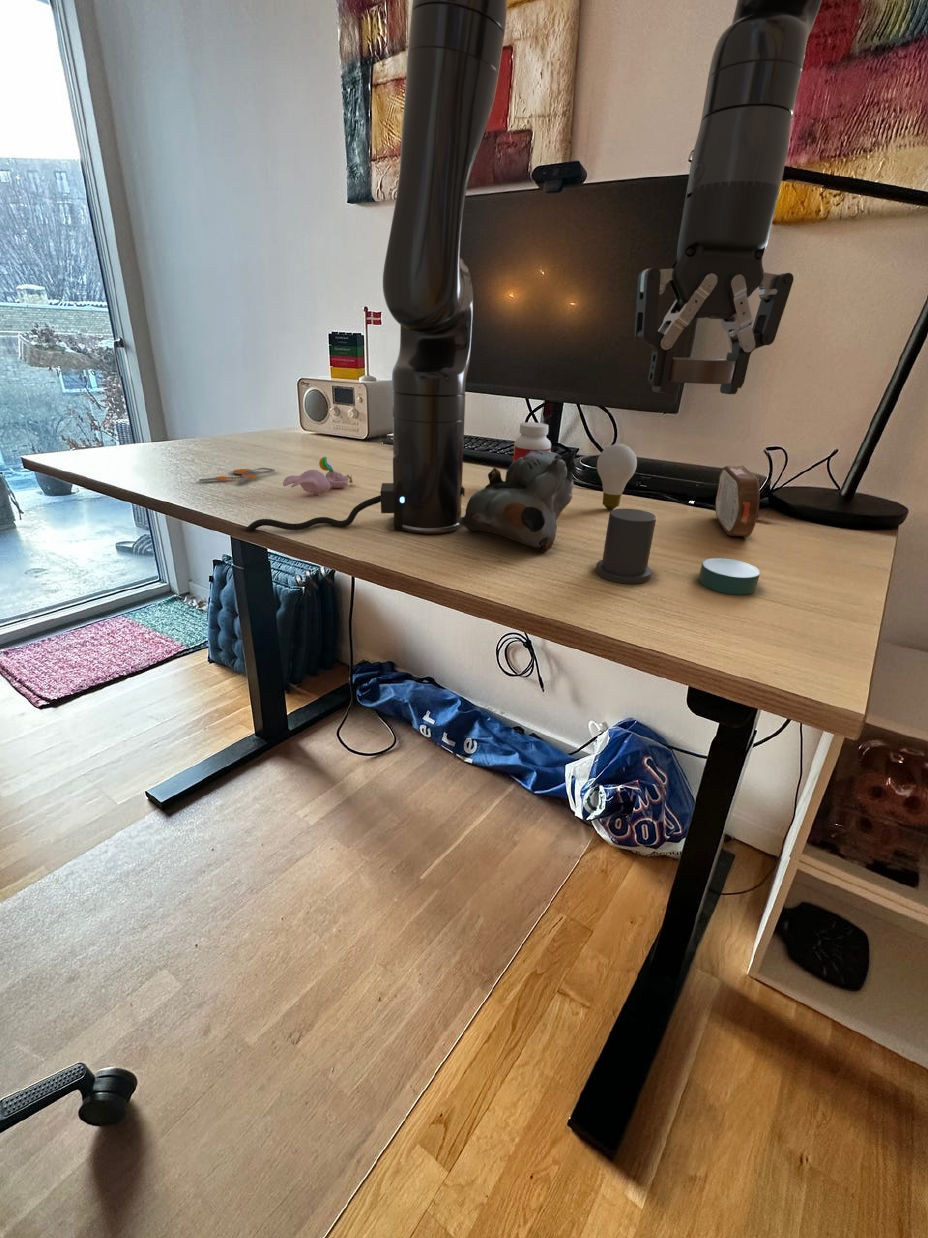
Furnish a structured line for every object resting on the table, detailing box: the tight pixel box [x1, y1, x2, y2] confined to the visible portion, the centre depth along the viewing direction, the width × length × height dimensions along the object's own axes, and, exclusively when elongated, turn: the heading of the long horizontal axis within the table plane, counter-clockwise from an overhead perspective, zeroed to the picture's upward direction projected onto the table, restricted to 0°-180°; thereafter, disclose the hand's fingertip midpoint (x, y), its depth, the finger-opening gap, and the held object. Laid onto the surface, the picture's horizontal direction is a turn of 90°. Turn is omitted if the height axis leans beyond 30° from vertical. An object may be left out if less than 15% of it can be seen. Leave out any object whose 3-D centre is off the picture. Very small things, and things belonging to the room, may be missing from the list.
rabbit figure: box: [282, 456, 354, 496], centre depth 92 cm, size 6×6×15 cm
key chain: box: [198, 467, 276, 484], centre depth 101 cm, size 13×7×1 cm, turn 156°
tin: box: [714, 464, 761, 538], centre depth 83 cm, size 15×3×8 cm, turn 168°
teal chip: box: [698, 557, 761, 596], centre depth 65 cm, size 6×6×2 cm
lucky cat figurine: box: [458, 450, 576, 553], centre depth 74 cm, size 15×12×14 cm
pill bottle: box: [512, 421, 552, 463], centre depth 98 cm, size 6×6×11 cm
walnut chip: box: [669, 356, 736, 385], centre depth 57 cm, size 6×6×2 cm
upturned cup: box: [595, 508, 657, 585], centre depth 65 cm, size 6×6×7 cm
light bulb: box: [596, 443, 638, 511], centre depth 89 cm, size 6×6×10 cm
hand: (693, 392), depth 57 cm, fingers closed on walnut chip, 6 cm apart
